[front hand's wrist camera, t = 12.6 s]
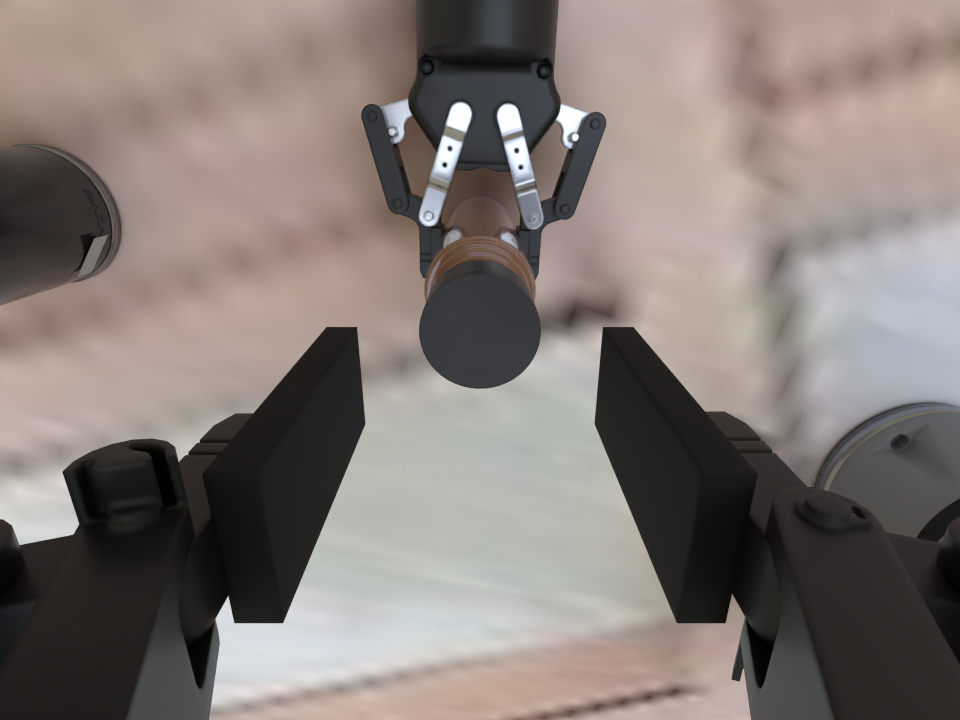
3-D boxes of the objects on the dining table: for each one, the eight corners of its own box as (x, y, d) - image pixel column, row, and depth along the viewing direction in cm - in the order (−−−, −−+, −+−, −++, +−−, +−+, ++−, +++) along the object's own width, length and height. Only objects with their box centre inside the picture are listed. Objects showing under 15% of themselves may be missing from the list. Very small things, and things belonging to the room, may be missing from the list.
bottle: (522, 242, 40) (572, 358, 18) (466, 270, 40) (451, 414, 19) (494, 184, 38) (512, 233, 16) (437, 214, 39) (383, 299, 17)
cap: (552, 336, 20) (560, 358, 18) (457, 381, 20) (454, 406, 18) (504, 240, 18) (508, 251, 16) (405, 290, 19) (396, 307, 17)
